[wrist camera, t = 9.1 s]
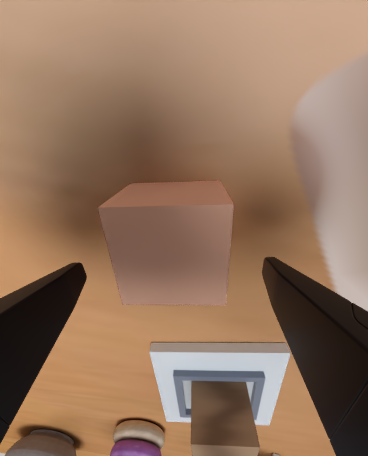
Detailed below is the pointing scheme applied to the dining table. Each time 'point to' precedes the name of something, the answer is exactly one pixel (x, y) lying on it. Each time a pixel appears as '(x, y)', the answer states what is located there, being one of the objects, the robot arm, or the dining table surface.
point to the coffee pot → (43, 444)
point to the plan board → (219, 373)
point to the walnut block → (222, 420)
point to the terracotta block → (170, 242)
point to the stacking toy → (137, 439)
